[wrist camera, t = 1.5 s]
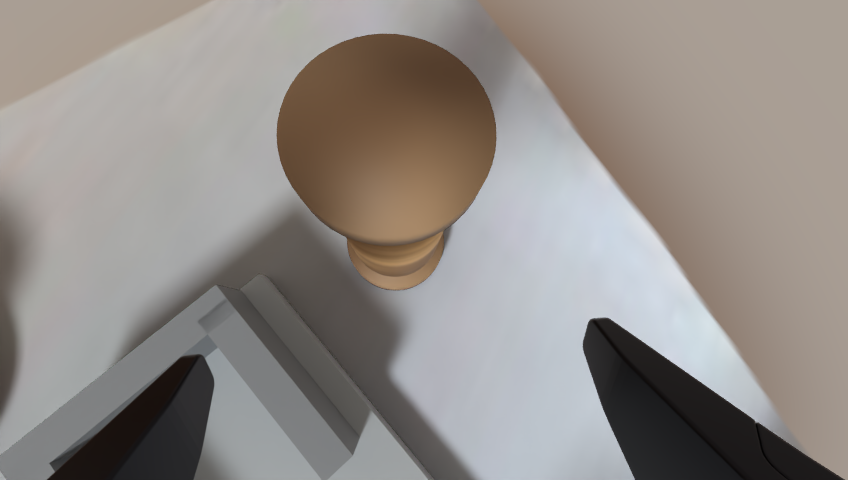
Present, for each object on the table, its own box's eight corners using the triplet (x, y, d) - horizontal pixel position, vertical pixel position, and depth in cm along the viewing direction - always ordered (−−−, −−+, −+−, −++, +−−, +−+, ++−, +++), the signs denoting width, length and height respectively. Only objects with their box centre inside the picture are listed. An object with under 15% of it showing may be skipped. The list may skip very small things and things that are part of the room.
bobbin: (461, 248, 22) (540, 141, 9) (391, 310, 21) (374, 284, 9) (400, 182, 23) (399, -3, 10) (330, 239, 22) (231, 117, 9)
